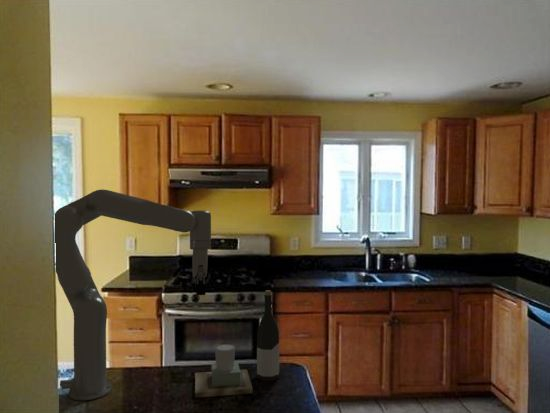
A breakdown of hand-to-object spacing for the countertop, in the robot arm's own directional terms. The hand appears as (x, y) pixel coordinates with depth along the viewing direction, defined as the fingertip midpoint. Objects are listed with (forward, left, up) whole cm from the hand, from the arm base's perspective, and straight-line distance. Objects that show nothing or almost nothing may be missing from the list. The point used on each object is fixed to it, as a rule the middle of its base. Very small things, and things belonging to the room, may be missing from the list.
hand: (200, 292), depth 157 cm
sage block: (+8, -14, -27) cm, 31 cm away
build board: (+7, -14, -28) cm, 32 cm away
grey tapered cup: (+8, -14, -23) cm, 28 cm away
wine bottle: (+23, -10, -28) cm, 38 cm away
